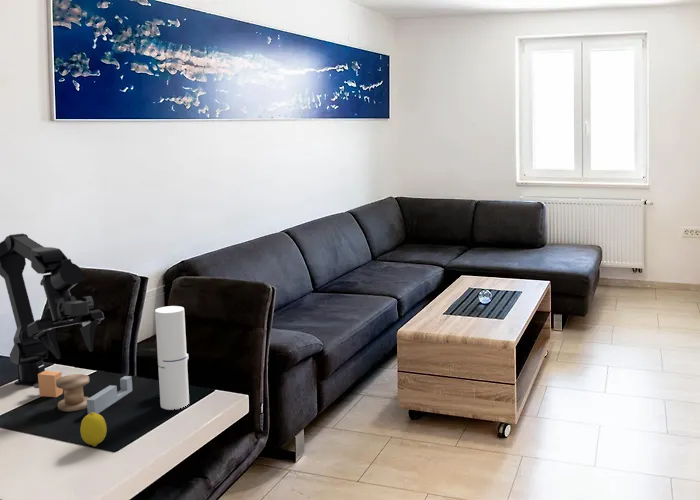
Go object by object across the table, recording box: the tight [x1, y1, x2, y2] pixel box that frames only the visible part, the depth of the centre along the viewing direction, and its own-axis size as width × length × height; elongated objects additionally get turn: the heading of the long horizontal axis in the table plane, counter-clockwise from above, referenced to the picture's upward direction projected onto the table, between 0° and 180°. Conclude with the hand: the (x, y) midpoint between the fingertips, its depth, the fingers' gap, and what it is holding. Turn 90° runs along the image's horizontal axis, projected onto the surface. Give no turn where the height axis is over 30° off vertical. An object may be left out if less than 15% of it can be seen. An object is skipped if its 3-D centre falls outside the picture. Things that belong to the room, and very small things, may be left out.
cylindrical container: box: [154, 305, 190, 411], centre depth 189 cm, size 7×7×25 cm
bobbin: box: [56, 373, 90, 412], centre depth 191 cm, size 8×8×7 cm
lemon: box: [79, 412, 108, 447], centre depth 166 cm, size 6×6×8 cm
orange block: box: [33, 370, 64, 398], centre depth 199 cm, size 7×3×6 cm, turn 76°
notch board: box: [86, 375, 133, 415], centre depth 193 cm, size 2×18×4 cm, turn 166°
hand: (75, 354), depth 189 cm, fingers open, 9 cm apart
